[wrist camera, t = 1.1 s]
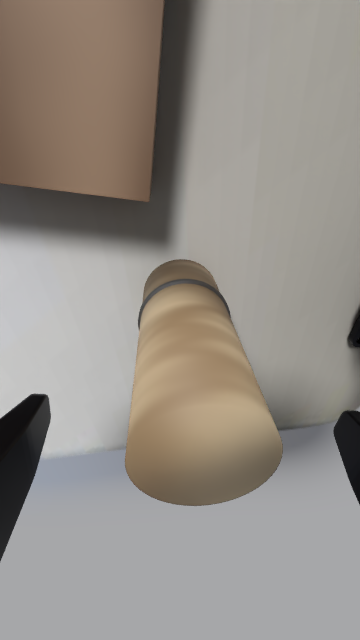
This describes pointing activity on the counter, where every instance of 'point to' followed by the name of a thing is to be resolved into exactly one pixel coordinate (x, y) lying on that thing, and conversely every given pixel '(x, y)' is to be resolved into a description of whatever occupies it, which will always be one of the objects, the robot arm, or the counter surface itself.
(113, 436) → the counter surface
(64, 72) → the walnut board
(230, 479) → the oak peg
